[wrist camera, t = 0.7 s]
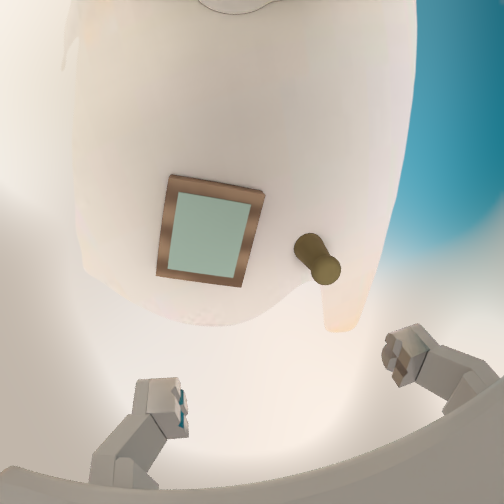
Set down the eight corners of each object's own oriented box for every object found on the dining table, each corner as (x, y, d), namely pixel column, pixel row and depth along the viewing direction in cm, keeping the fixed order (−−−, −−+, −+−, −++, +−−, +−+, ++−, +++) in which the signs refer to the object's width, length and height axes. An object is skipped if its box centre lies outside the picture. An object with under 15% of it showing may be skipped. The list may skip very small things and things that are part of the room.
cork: (319, 228, 56) (343, 253, 46) (325, 254, 58) (348, 282, 49) (290, 239, 56) (309, 267, 46) (298, 265, 58) (316, 295, 49)
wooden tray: (170, 174, 47) (168, 178, 44) (261, 190, 50) (265, 195, 48) (157, 267, 54) (155, 276, 51) (239, 279, 57) (241, 288, 55)
